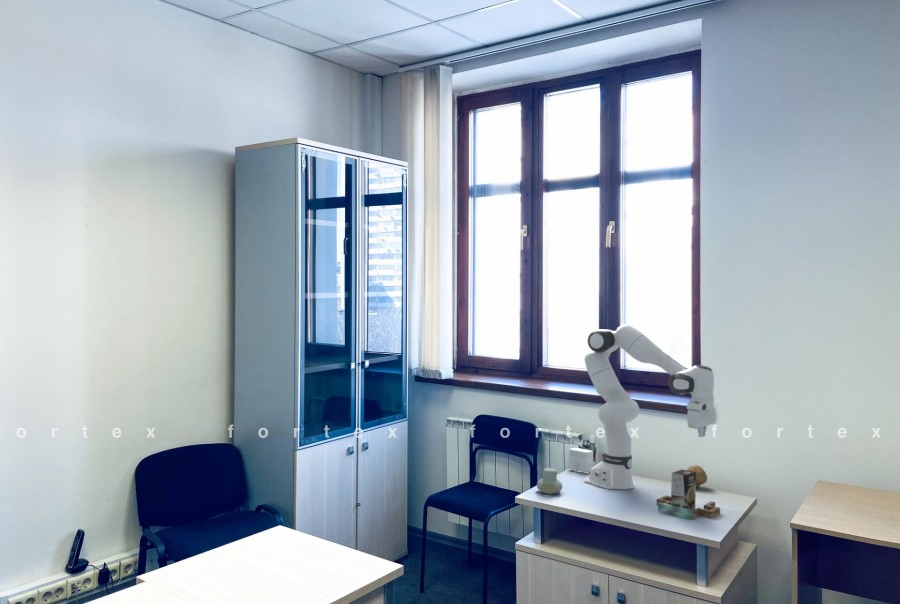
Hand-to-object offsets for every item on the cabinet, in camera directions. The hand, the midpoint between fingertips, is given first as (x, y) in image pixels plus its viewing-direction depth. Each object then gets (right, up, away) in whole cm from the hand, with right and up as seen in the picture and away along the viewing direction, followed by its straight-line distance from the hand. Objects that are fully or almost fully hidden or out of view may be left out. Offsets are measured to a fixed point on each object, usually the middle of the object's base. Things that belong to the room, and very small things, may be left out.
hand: (701, 436), depth 288 cm
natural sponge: (+5, -27, +20) cm, 34 cm away
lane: (-11, -27, -13) cm, 32 cm away
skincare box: (-42, -26, +46) cm, 68 cm away
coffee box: (-14, -27, -17) cm, 35 cm away
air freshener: (-63, -26, +8) cm, 69 cm away
